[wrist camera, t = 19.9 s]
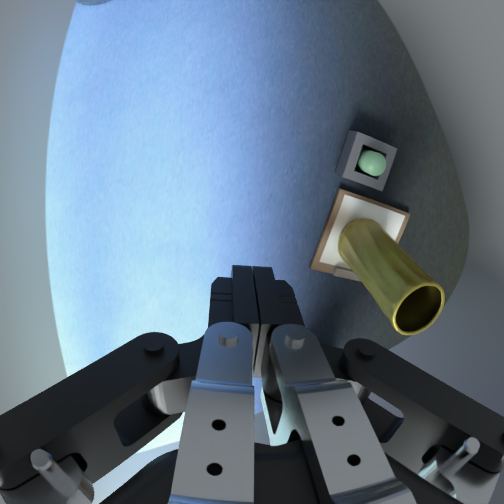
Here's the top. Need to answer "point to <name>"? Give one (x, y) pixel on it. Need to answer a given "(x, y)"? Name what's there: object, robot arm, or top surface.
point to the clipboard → (340, 216)
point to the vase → (391, 276)
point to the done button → (371, 162)
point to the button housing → (352, 154)
